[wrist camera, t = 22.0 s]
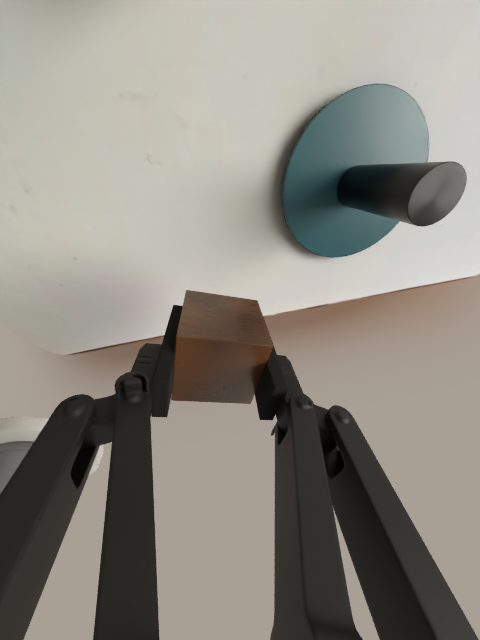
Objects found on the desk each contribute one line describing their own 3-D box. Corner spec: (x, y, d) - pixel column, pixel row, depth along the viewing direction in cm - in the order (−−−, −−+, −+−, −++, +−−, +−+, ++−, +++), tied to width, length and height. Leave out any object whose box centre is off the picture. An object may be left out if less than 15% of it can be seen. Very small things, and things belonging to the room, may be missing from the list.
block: (180, 345, 17) (170, 400, 13) (186, 289, 14) (176, 336, 10) (242, 351, 18) (250, 404, 14) (257, 300, 16) (273, 346, 11)
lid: (292, 269, 28) (330, 318, 19) (266, 124, 20) (312, 84, 10) (408, 231, 26) (511, 263, 17) (433, 58, 18) (654, -56, 9)
